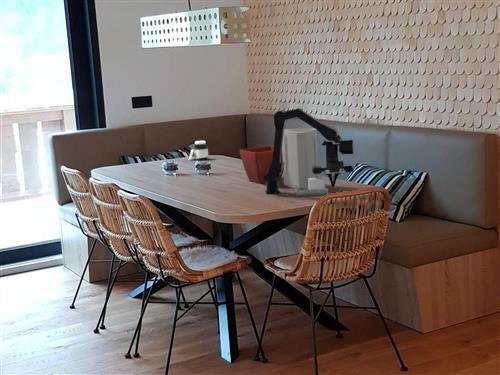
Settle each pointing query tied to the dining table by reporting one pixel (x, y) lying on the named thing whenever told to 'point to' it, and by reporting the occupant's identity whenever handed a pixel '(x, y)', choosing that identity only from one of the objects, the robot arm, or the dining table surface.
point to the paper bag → (299, 156)
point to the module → (316, 183)
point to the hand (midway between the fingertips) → (333, 187)
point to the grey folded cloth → (309, 191)
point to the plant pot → (258, 162)
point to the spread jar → (199, 151)
